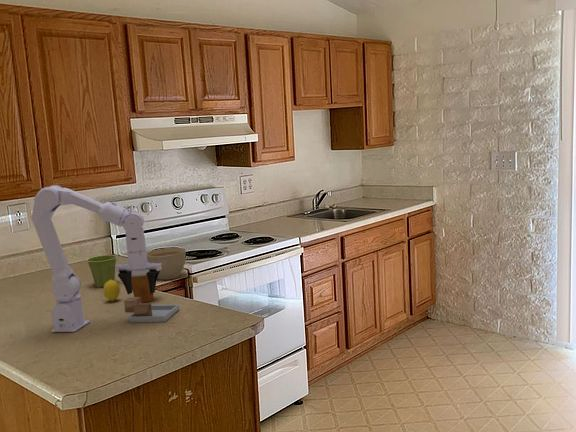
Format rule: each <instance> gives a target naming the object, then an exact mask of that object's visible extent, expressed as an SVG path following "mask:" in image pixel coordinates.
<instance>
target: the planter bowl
mask: <svg viewBox="0 0 576 432" xmlns="http://www.w3.org/2000/svg"><path fill="white" fill-rule="evenodd" d="M186 250H187V249H186V248H183V247H167V248H166V247H165V248H160V249H159V248H158V249H155V250H151V251H149V252H146V254H147V263H161V266H162V269H161V270H160V273H159V275H158V278H157V280H161V281H169V280H174V279H178V278H180V277H181V272H183V269H184V267H185V264H186V260H187V259H186V258H187V256H186V252H187V251H186Z"/></svg>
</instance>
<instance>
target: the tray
mask: <svg viewBox="0 0 576 432" xmlns="http://www.w3.org/2000/svg"><path fill="white" fill-rule="evenodd" d="M151 307H152V316H135V312H132V313H131V314H130V315H129V316H128V317H127V318H128V323H130V324H131V323H132V324H133V323H166V322H167V321H168V320H169V319H170V318H172V317H173V316H174V315H175V314H177V313H178V312H179V311H180V304H161V305H160V304H157V305H156V304H154V305H153V304H151Z"/></svg>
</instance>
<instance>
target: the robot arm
mask: <svg viewBox="0 0 576 432" xmlns="http://www.w3.org/2000/svg"><path fill="white" fill-rule="evenodd" d="M68 205H74V206H77V207H80V208H83V209H85V210H88V211H91V212H94V213H96V214H98V216H99V218H100V220H103V221H106V222H108V223H109V224H113V225H114V226H118V227H123V229H124V231H125V244H126V252H127V253H126V254H127V262H128V263H124V264H121V263H120V264H117V265H115V273H118V274H117V277H118V278H119V280H120V281H121V283H122V285H124V288H125V292H126V294H127V295H131V294H133V290H132V282H131V275H132V271H148V270H149V272H147V273H146V274H147V277H148V281H149V288H150V294H153V293H156V286H157V281H158V279H157V278H158V275H159V273H160V270H161V269H162V266H161V263H148V262H147V254H146V253H147V246H146V245H147V244H146V237H145V230H144V227H143V226H144V224H145V219H144V216H143V215H142V214H141V213H140V212H139V211H137V210H134V211H133V210H132V209H130V208H124V207H122V206H121V205H118V204H117V202H116V201H112V202H111V201H107V202H105V203H104V202H103V203H102V202H100V201H97V200H95V199H93V198H92V197H88V196H86V195H84V194H82V193H80V192H77V191H75V190H73V189H71V188H68V187H62V186H61V185H58V184H53V185H50V186H47V187H46V186H45V187H42V188H41V189H40V190H38V192H37V194H36V195H35V196H34V198H33V207H32V212H31V221H32V224H33V226H34V229H35V231H36V234H37V237H38V239H39V242H40V244H41V247H42V250H43V251H44V252H43V253H44V254H45V257H46V260H47V262H48V266H49V267H50V270H51V273H52V275H51V276H52V277H51V281H52V285H53V287H52V288H53V289H52V293H53V296H54V297H55V300H56V303H55V305H54V306H52V307H53V308H52V309H51V319H52V327H53V329H51V333H66V332H67V333H70V332H71V333H72V332H77V331H78V330H80V329H81V328H82V327H84V326H86V325H87V324H89V323H90V322H91V320H89V319H88V320H85V316H84V310H83V309H84V307H83V302H82V301H83V300H82V295H81V293H80V290H81V288H82V282H81V279H80V278H79V277H78V276H77V275H76V273H75V272H74V269H73V268H72V267H71V266H70V265H69V262H68V259H67V258H66V254H65V252H64V249H63V247H62V244H61V241H60V238H59V235H58V234H57V233H58V232H57V231H56V228H55V226H54V223H53V220H52V217H53V216H54V214H55V212H56V211H57V210H58V208H59V207H60V206H68ZM153 295H154V294H153Z"/></svg>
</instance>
